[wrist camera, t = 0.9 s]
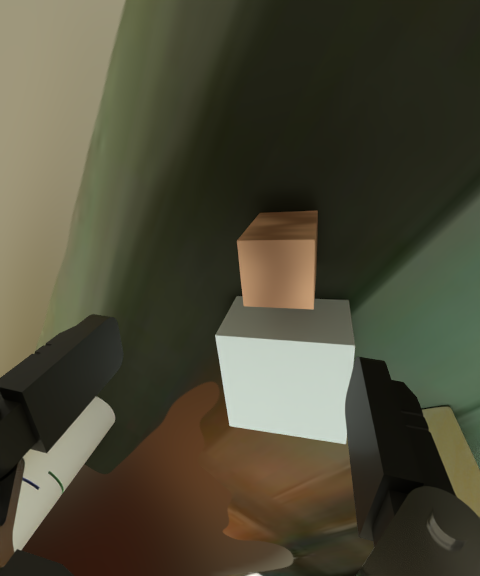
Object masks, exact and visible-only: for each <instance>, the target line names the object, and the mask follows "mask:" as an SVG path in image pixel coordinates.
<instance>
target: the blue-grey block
mask: <svg viewBox="0 0 480 576" xmlns="http://www.w3.org/2000/svg"><path fill="white" fill-rule="evenodd" d="M215 336H216V343H217V349H218V355H219V362H220V368H221V374H222V381H223V387H224V394H225V400H226V406H227V413H228V419H229V425H230V426H233V427H239V428H246V429H252V430H259V431H265V432H271V433H278V434H284V435H291V436H297V437H303V438H310V439H316V440H323V441H329V442H336V443H342V444H346V438H347V428H346V419H345V400H346V394H347V390H348V386H349V382H350V378H351V374H352V370H353V362H354V352H355V342H354V334H353V327H352V320H351V313H350V306H349V300H331V299H314V309H292V308H270V307H248V306H244V305H243V296H237V297H236V298H235V300H234V302H233V304H232V306H231V308H230V309H229V311H228V313H227V315H226V317H225V319H224V320H223V322H222V324H221V326H220V328H219V330H218V331H217V333H216V335H215Z"/></svg>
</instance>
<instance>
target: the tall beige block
mask: <svg viewBox="0 0 480 576" xmlns="http://www.w3.org/2000/svg"><path fill="white" fill-rule="evenodd" d="M422 412H423V417H425V419H426V422H427V424H428V427H429V432H431V434H432V437H433V439H434V442H435V444H436V447H437V449H438V452H439V455H440V457H441V460H442V462H443V465H444V467H445V470H446V472H447V475H448V477H449V480H450V482H451V485H452V487H453V490H454V492H455V494H456V496H457V498H459V499H460V500H461V501H463V502H464V503H465V504H466V505H468V506H469V507H470V508H471V509H472V510H473V511H474V512H475V513H476V514H477V515H478V517H479V518H480V469H479V467H478V465H477V463H476V461H475V459H474V456H473V454H472V452H471V450H470V448H469V446H468V444H467V441H466V439H465V437H464V435H463V433H462V431H461V429H460V426H459V424H458V422H457V420H456V418H455V416H454V414H453V411H452V409H451V408H450V407H436V408H429V409H423V410H422Z"/></svg>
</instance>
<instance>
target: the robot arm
mask: <svg viewBox="0 0 480 576" xmlns="http://www.w3.org/2000/svg"><path fill="white" fill-rule="evenodd" d="M122 360H123V349H122V344H121V339H120V333H119V328H118V323H117V320H116V319H115V318H113V317H107V316H101V315H95V314H92V315H90V316H88V317H87V318H86V319H84V320H83V321H82V322H80V323H79V324H78V325H76V326H74V327H72V328H70V329H68V330H66V331H64V332H61V333H59V334H58V335H56V336H55V337H54V338H53V339H51V340H50V341H49V342H47V343H46V345H45V346H44V345H43V346H42V347H41V348H39V349H38V350H37V351H35V354H31V355H30V356H29V357H27V358H26V359H25V360H23V361H22V362H21V363H19V364H18V365H17V366H15V367H14V368H13V369H12V370H10V371H9V372H7V373H6V374H5V375H3V376H2V377H1V378H0V576H74V575H73V574H72V573H71V572H69V571H68V570H67V569H66V568H65V567H64V566H63V565H62V564H60V563H57V562H54V561H51V560H47V559H45V558H42V557H39V556H36V555H33V554H30V553H27V552H24V551H21V550H18V549H17V550H16V551H15V552H14V547H13V528H14V522H15V517H16V511H17V506H18V500H19V495H20V490H21V484H22V479H23V473H24V468H25V460H24V458H23V457H24V455H25V454H26V453H27V452H28V451H29V450H30V449H32V450H36V451H39V452H43V453H48V452H49V450H50V449H51V448H52V447H53V446H54V445H55V443H56V442H57V441H58V440H59V439H60V438H61V436H62V435H63V434H64V433H65V432H66V431H67V429H68V428H69V427H70V426H71V425H72V424H73V422H74V421H75V420H76V419H77V418H78V417H79V415H80V414H81V413H82V412H83V411H84V410H85V408H86V407H87V406H88V405H89V404H90V403H91V401H92V400H93V399H94V398H95V397H96V396H97V394H98V393H99V392H100V391H101V390H102V389H103V387H104V386H105V385H106V384H107V383H108V382H109V380H110V379H111V378H112V377H113V376H114V374H115V373H116V372H117V371H118V370H119V368H120V366H121V364H122ZM345 419H346V428H347V437H348V446H349V455H350V464H351V473H352V482H353V491H354V500H355V509H356V518H357V527H358V536H359V537H360V538H364V539H368V540H371V541H374V549H373V551H372V552H371V554H370V555H369V557H368V558H367V560H366V561H365V563H364V565H363V566H362V568H361V569H360V571H359V572H358V574H357V575H356V576H480V518H479V517H478V515H477V514H476V513H475V512H474V511H473V510H472V509H471V508H470V507H469V506H468V505H466V504H465V503H464V502H463V501H461V500H460V499H459V498H457V496H456V494H455V492H454V490H453V487H452V485H451V482H450V480H449V477H448V475H447V472H446V470H445V467H444V465H443V462H442V460H441V457H440V455H439V452H438V449H437V447H436V444H435V442H434V439H433V437H432V434H431V432H429V427H428V424H427V422H426V419H425V417H423V412H422V409H421V407H420V404H419V402H418V399H417V397H416V396H415V395H414V394H413V393H412V391H411V390H410V389H409V388H408V387H407V386H406V385H405V383H404V382H400V381H394V380H391V378H390V374H389V371H388V368H387V365H386V363H385V361H382V360H375V359H369V358H363V357H357V358H356V360H355V363H354V367H353V370H352V374H351V378H350V382H349V386H348V390H347V394H346V400H345Z"/></svg>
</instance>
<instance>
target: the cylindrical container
mask: <svg viewBox="0 0 480 576" xmlns="http://www.w3.org/2000/svg"><path fill="white" fill-rule="evenodd" d="M114 422H115V414H114V412H113V410H112V409H111V407H110V406H109V405H108V404H107V403H106V402H105V401H103V400H102V399H100V398H99V397H95V398H94V399H93V400H92V401H91V403H90V404H89V405H88V406H87V407H86V408H85V410H84V411H83V412H82V413H81V414H80V415H79V417H78V418H77V419H76V420H75V421H74V422H73V424H72V425H71V426H70V427H69V428H68V429H67V431H66V432H65V433H64V434H63V435H62V436H61V438H60V439H59V440H58V441H57V442H56V443H55V445H54V446H53V447H52V448H51V449H50V450H49V452H48V453H43V452H39V451H36V450H32V449H30V450H29V451H28V452H27V453H26V454H25V455H24V457H23V458H24V460H25V468H24V473H23V479H22V484H21V490H20V495H19V500H18V506H17V511H16V517H15V522H14V528H13V547H14V552H15V551H16V550H17V549H18V550H22V548H23V547H24V545H25V544H26V543H27V541H28V540H29V539H30V537H31V536H32V534H33V533H34V532H35V530H36V529H37V528H38V526H39V525H40V523H41V522H42V521H43V519H44V518H45V517H46V515H47V514H48V513H49V511H50V510H51V508H52V507H53V506H54V504H55V503H56V502H57V500H58V499H59V497H60V496H61V494H62V493H63V492H64V491H65V489H66V488H67V487H68V485H69V484H70V482H71V481H72V479H73V478H74V477H75V475H76V474H77V473H78V471H79V470H80V469H81V467H82V466H83V465H84V463H85V462H86V461H87V459H88V458H89V456H90V455H91V454H92V452H93V451H94V450H95V448H96V447H97V445H98V444H99V443H100V441H101V440H102V439H103V437H104V436H105V434H106V433H107V432H108V430H109V429H110V428H111V426H112V425H113V424H114Z"/></svg>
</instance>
